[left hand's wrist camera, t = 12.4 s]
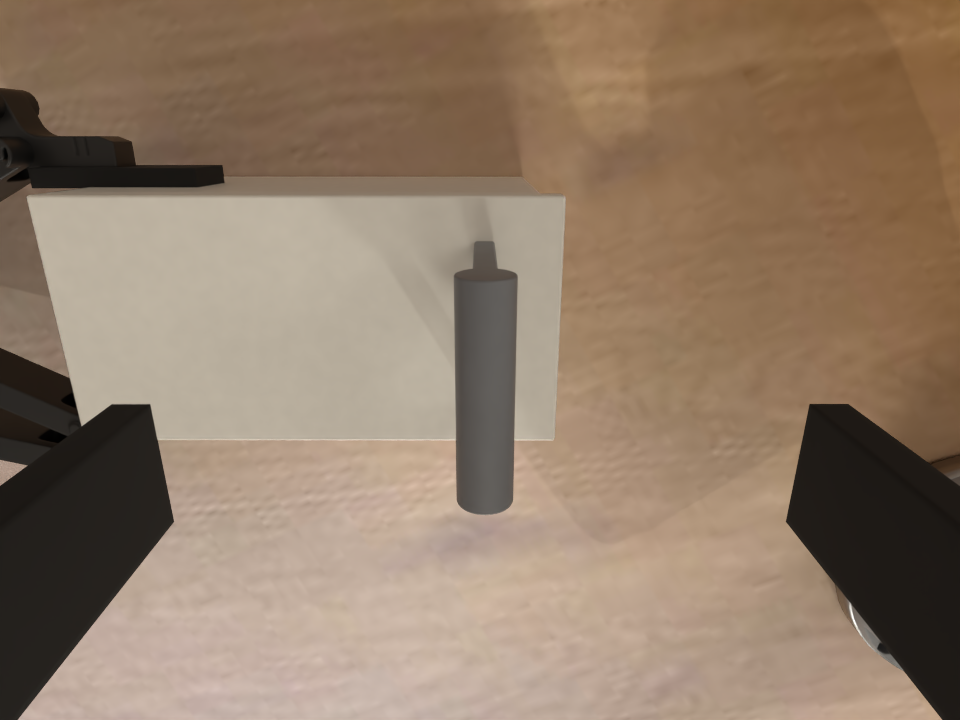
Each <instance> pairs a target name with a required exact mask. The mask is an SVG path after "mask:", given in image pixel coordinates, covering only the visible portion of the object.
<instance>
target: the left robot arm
mask: <svg viewBox="0 0 960 720" xmlns="http://www.w3.org/2000/svg"><path fill="white" fill-rule="evenodd" d="M173 522H174V519H173V514H172V509H171V504H170V499H169V494H168V490H167V485H166V480H165V475H164V470H163V465H162V460H161V455H160V450H159V445H158V440H157V435H156V430H155V425H154V420H153V415H152V410H151V405H150V404H111V405H110V406H109V407H107V408H106V409H105V410H103V411H102V412H100V413H99V414H98V415H96V416H95V417H94V418H92V419H91V420H90V421H88V422H87V423H85V424H84V425H83V426H81V427H80V428H79V429H77V430H76V431H75V432H73V433H72V434H70V435H69V436H68V437H66V438H65V439H64V440H62V441H61V442H60V443H58V444H57V445H55V446H54V447H53V448H51V449H50V450H49V451H47V452H46V453H45V454H43V455H42V456H40V457H39V458H38V459H36V460H35V461H34V462H32V463H31V464H30V465H28V466H27V467H25V468H24V469H23V470H21V471H20V472H19V473H17V474H16V475H15V476H13V477H12V478H10V479H9V480H8V481H6V482H5V483H4V484H2V485H1V486H0V720H18V719H19V717H20V716H21V715H22V713H23V712H24V711H25V710H26V708H27V707H28V706H29V705H30V703H31V702H32V701H33V700H34V698H35V697H36V696H37V694H38V693H39V692H40V691H41V689H42V688H43V687H44V686H45V684H46V683H47V682H48V681H49V679H50V678H51V677H52V676H53V674H54V673H55V672H56V670H57V669H58V668H59V667H60V665H61V664H62V663H63V662H64V660H65V659H66V658H67V657H68V655H69V654H70V653H71V651H72V650H73V649H74V648H75V646H76V645H77V644H78V643H79V641H80V640H81V639H82V638H83V636H84V635H85V634H86V632H87V631H88V630H89V629H90V627H91V626H92V625H93V624H94V622H95V621H96V620H97V619H98V617H99V616H100V615H101V613H102V612H103V611H104V610H105V608H106V607H107V606H108V605H109V603H110V602H111V601H112V600H113V598H114V597H115V596H116V594H117V593H118V592H119V591H120V589H121V588H122V587H123V586H124V584H125V583H126V582H127V581H128V579H129V578H130V577H131V575H132V574H133V573H134V572H135V570H136V569H137V568H138V567H139V565H140V564H141V563H142V562H143V560H144V559H145V558H146V556H147V555H148V554H149V553H150V551H151V550H152V549H153V548H154V546H155V545H156V544H157V543H158V541H159V540H160V539H161V537H162V536H163V535H164V534H165V532H166V531H167V530H168V529H169V527H170V526H171V525H172V524H173ZM786 522H787V524H788V525H789V526H790V527H791V529H792V530H793V531H794V532H795V534H796V535H797V536H798V537H799V539H800V540H801V541H802V543H803V544H804V545H805V546H806V548H807V549H808V550H809V551H810V553H811V554H812V555H813V556H814V558H815V559H816V560H817V562H818V563H819V564H820V565H821V567H822V568H823V569H824V570H825V572H826V573H827V574H828V575H829V577H830V578H831V579H832V581H833V582H834V583H835V584H836V592H837V596H838V600H839V603H840V605H841V608H842V610H843V612H844V613H845V615H846V617H847V618H848V619H849V621H850V622H851V623H852V625H853V626H854V627H855V629H856V630H857V631H858V633H859V634H860V635H861V637H862V638H863V639H864V640H865V642H866V643H867V644H868V645H869V646H870V647H871V648H872V649H873V650H874V651H875V652H877V653H878V654H879V655H880V656H882V657H883V658H884V659H886V660H887V661H888V662H890V663H891V664H893V665H894V666H896V667H897V668H899V669H901V670H903V671H904V672H905V673H906V674H907V676H908V677H909V678H910V679H911V681H912V682H913V683H914V684H915V686H916V687H917V688H918V689H919V691H920V692H921V693H922V694H923V696H924V697H925V698H926V700H927V701H928V702H929V703H930V705H931V706H932V707H933V708H934V710H935V711H936V712H937V713H938V715H939V716H940V717H941V719H942V720H960V456H956V457H952V458H948V459H945V460H942V461H939V462H936V463H933V464H931V465H930V464H929V463H928V462H926V461H925V460H924V459H922V458H921V457H920V456H918V455H917V454H915V453H914V452H913V451H911V450H910V449H909V448H907V447H906V446H905V445H903V444H902V443H900V442H899V441H898V440H896V439H895V438H894V437H892V436H891V435H890V434H888V433H887V432H885V431H884V430H883V429H881V428H880V427H879V426H877V425H876V424H875V423H873V422H872V421H870V420H869V419H868V418H866V417H865V416H864V415H862V414H861V413H860V412H858V411H857V410H855V409H854V408H853V407H851V406H850V405H849V404H810V405H809V410H808V415H807V420H806V425H805V430H804V435H803V440H802V445H801V450H800V455H799V460H798V465H797V470H796V475H795V480H794V485H793V490H792V494H791V499H790V504H789V509H788V514H787V519H786Z"/></svg>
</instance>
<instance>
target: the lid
mask: <svg viewBox="0 0 960 720" xmlns="http://www.w3.org/2000/svg"><path fill="white" fill-rule="evenodd" d="M27 202H28V206H29V211H30V215H31V219H32V223H33V227H34V231H35V236H36V240H37V244H38V248H39V252H40V256H41V260H42V265H43V269H44V273H45V277H46V281H47V285H48V290H49V294H50V298H51V302H52V306H53V310H54V314H55V319H56V323H57V327H58V331H59V335H60V339H61V344H62V348H63V352H64V356H65V360H66V364H67V368H68V373H69V377H70V381H71V385H72V389H73V393H74V398H75V402H76V406H77V410H78V414H79V418H80V422H81V426H83V425H84V424H85V423H87V422H88V421H90V420H91V419H92V418H94V417H95V416H96V415H98V414H99V413H100V412H102V411H103V410H105V409H106V408H107V407H109V406H110V405H111V404H150V405H151V410H152V415H153V420H154V425H155V430H156V435H157V440H456V480H457V502H458V504H459V506H460V507H461V508H462V509H464V510H466V511H468V512H470V513H473V514H478V515H492V514H497V513H500V512H503V511H505V510H506V509H508V508H509V507H510V505H511V504H512V502H513V476H514V440H554V439H555V422H556V401H557V379H558V358H559V336H560V315H561V293H562V272H563V250H564V228H565V207H566V197H565V196H564V195H563V194H446V193H41V194H33V195H28V196H27Z"/></svg>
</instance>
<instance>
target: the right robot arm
mask: <svg viewBox="0 0 960 720" xmlns="http://www.w3.org/2000/svg"><path fill="white" fill-rule="evenodd" d="M38 115H39V105H38V102H37V100H36V99H35V97H34V96H33V95H31V94H30V93H29V92H26V91H23V90H14V89H5V88H0V202H1V201H2V200H4V199H6V198H7V197H9V196H10V195H12V194H14V193H15V192H17V191H18V190H20V189H22V188H23V187H25V186H26V185H28V184H30V183H31V185H32V188H89V187H203V186H209V185H215V184H221V183H225V182H224V174H223V167H222V165H136V163H135V157H134V152H133V146H132V142H131V141H129V140H126V139H124V138H121V137H115V136H57V135H54V134H52V133H51V132H49V131H48V130H47V129H46V128H45V127H44V126H43V124H42V123H41V121H40V119H39V118H38ZM80 427H81V422H80V418H79V414H78V410H77V406H76V402H75V398H74V393H73V389H72V385H71V381H70V378H68V377H65V376H63V375H61V374H59V373H56V372H54V371H52V370H49V369H47V368H45V367H43V366H40V365H38V364H36V363H33V362H31V361H29V360H27V359H24V358H22V357H20V356H17V355H15V354H13V353H11V352H8V351H6V350H4V349H1V348H0V460H4V461H9V462H14V463H19V464H23V465H30V464H31V463H32V462H34V461H35V460H36V459H38V458H39V457H40V456H42V455H43V454H45V453H46V452H47V451H49V450H50V449H51V448H53V447H54V446H55V445H57V444H58V443H60V442H61V441H62V440H64V439H65V438H66V437H68V436H69V435H70V434H72V433H73V432H75V431H76V430H77V429H79V428H80Z"/></svg>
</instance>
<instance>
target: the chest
mask: <svg viewBox="0 0 960 720" xmlns="http://www.w3.org/2000/svg"><path fill="white" fill-rule="evenodd" d="M224 182H225V183H221V184H215V185H209V186H203V187H89V188H81V189H73V190H65V191H57V192H48V193H446V194H540V193H539V192H538V191H537V190H536V189H535V188H534V187H533V186H532V185H531V184H530V183H528V182H527V181H526V180H525V179H524V178H523V177H325V176H224Z"/></svg>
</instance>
